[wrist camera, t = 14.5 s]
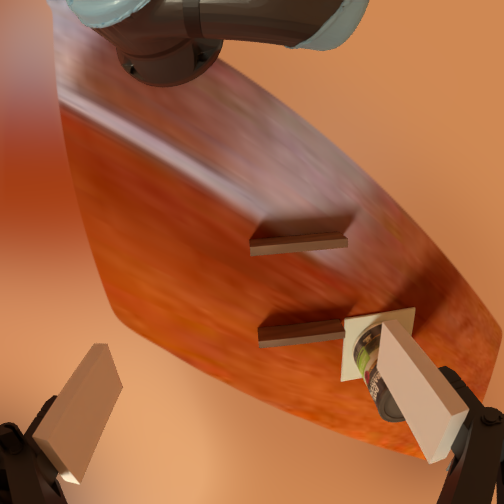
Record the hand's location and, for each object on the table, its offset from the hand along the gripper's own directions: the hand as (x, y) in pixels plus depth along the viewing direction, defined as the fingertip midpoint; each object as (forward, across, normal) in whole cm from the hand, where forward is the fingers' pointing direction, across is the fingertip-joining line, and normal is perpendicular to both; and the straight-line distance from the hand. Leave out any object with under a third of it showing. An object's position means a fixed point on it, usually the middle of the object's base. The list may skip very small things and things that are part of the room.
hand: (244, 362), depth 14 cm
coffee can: (+31, +21, -23) cm, 44 cm away
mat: (+32, +21, -23) cm, 44 cm away
